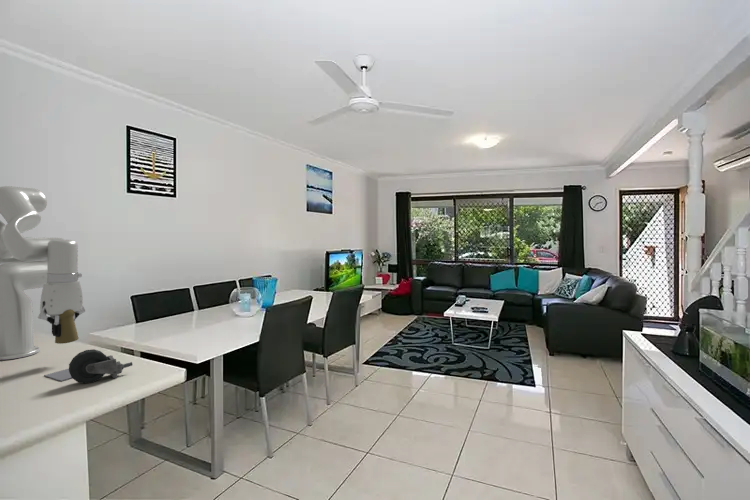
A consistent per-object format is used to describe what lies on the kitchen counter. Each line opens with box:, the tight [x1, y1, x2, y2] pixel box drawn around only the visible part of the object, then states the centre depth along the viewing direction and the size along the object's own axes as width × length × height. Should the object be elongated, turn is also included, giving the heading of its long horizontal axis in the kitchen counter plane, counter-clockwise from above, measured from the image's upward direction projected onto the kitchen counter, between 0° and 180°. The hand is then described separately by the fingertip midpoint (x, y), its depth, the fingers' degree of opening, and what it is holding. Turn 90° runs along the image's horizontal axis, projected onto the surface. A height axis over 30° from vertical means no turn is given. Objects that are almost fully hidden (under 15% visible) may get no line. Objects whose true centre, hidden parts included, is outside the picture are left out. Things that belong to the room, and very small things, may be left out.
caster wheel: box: [68, 349, 133, 384], centre depth 113 cm, size 6×10×15 cm
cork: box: [54, 309, 80, 345], centre depth 126 cm, size 6×6×11 cm
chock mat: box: [43, 368, 73, 382], centre depth 118 cm, size 9×11×1 cm
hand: (62, 334), depth 125 cm, fingers closed on cork, 2 cm apart
